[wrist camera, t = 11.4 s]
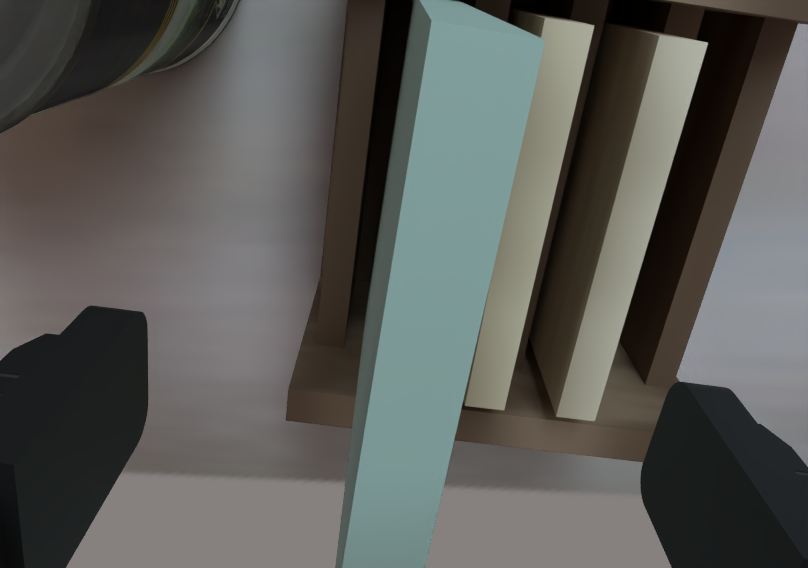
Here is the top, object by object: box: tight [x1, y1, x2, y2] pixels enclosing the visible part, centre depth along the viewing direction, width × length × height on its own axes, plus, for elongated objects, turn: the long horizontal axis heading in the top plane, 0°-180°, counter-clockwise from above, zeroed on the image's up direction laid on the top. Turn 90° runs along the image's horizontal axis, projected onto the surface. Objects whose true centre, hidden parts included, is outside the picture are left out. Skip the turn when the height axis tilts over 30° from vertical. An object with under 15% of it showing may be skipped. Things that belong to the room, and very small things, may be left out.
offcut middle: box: [529, 20, 708, 421], centre depth 23 cm, size 1×11×10 cm, turn 172°
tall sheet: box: [336, 0, 545, 568], centre depth 19 cm, size 1×11×20 cm, turn 171°
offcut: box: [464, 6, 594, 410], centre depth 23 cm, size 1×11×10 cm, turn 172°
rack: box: [286, 0, 808, 462], centre depth 24 cm, size 14×15×10 cm
